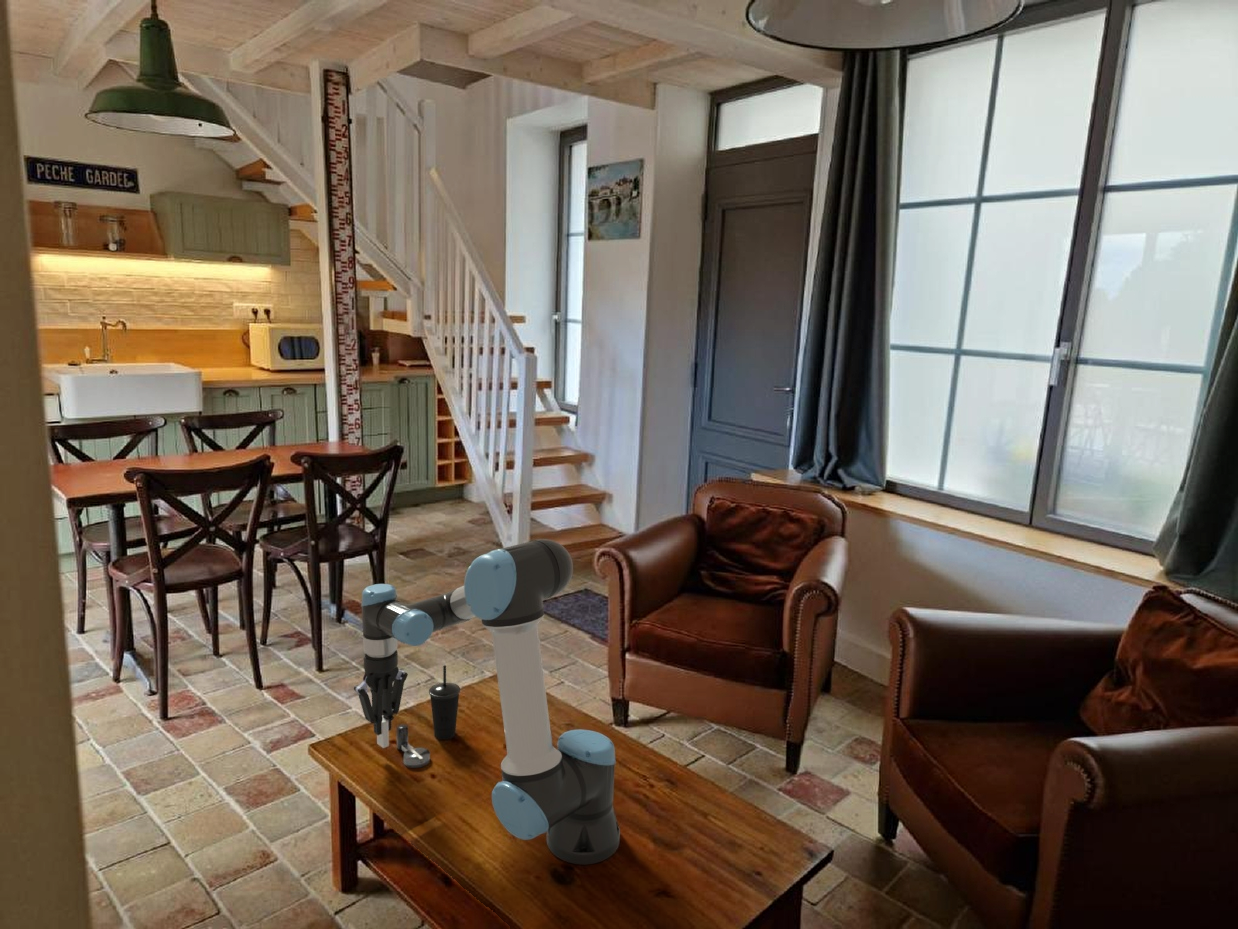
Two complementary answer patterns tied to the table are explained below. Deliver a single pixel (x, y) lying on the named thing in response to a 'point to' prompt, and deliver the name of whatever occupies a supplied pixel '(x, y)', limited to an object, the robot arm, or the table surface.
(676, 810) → the table surface
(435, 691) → the drinking cup
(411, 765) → the crank
